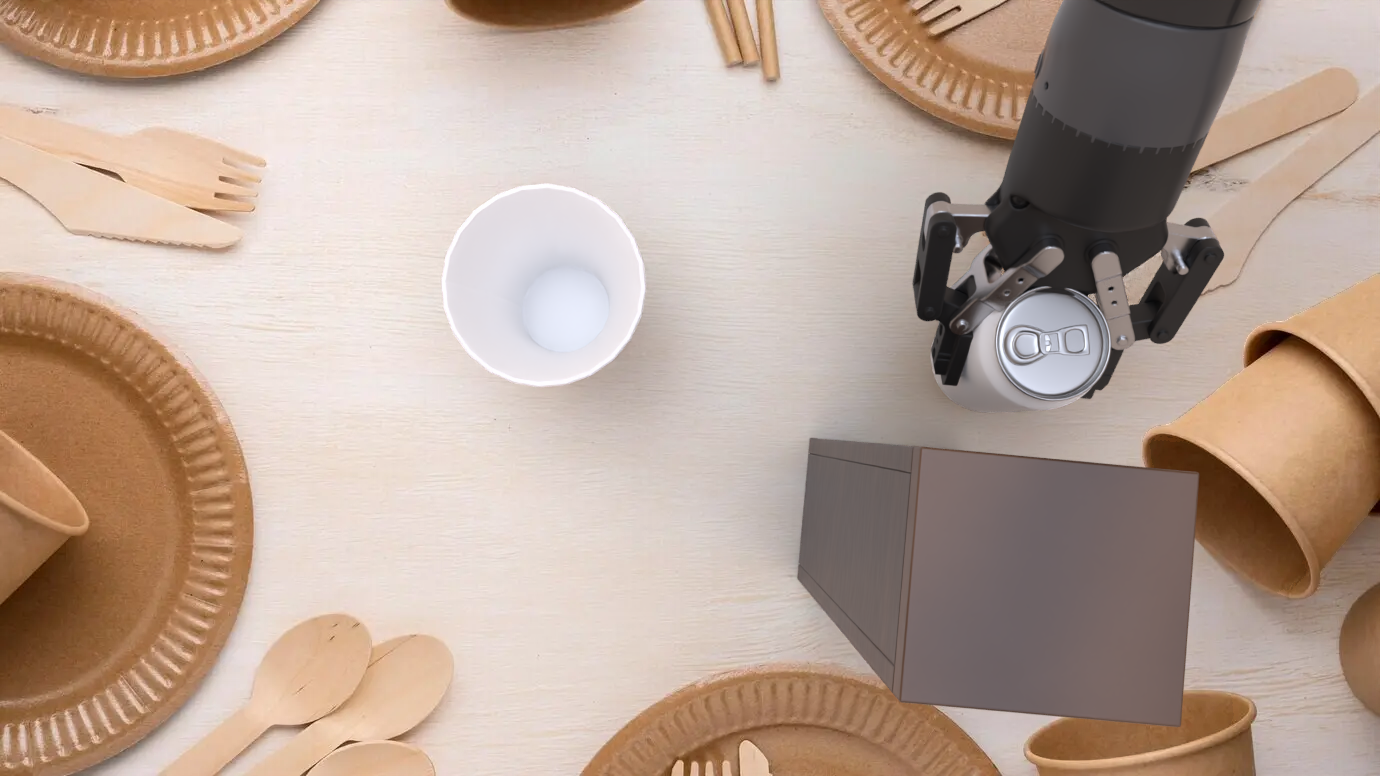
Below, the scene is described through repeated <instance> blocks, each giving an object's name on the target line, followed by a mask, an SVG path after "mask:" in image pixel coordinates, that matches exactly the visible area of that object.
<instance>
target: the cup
mask: <svg viewBox="0 0 1380 776" xmlns="http://www.w3.org/2000/svg"><path fill="white" fill-rule="evenodd" d="M645 269H646V268H645V260H644V258H643V256H642V253H641V250H640V248H639V246H638V242H637V239H636V237H635V235H634V234H633V232H632V231H631V230H630V228H629V227H628V226H627V225H626V223H625V222H624V220H623V218H622V217H621V216H620V215H619V214H618V213H617V212H616V211H614V210H613V209H612V208H611V207H610V206H609V205H607V204H606V203H605V202H604V201H602V200H601V199H600V198H599V197H596V196H594V195H591V194H589V193H587V192H585V191H583V190H581V189H578V188H576V187H573V186H568V185H562V184H556V183H550V182H544V183H543V182H542V183H533V184H521V185H517V186H516V187H513V188H510V189H508V190H505V191H502V192H499V193H497V194H495V195H493V196H491V197H490V198H489V199H488V200H486V201H485V202H484V203H482V204H480V205H479V206H478V207H476V208H474V209H473V211H472V212H471V213H470V214H469V215H468V216H467V218H466V219H465V220H464V221H463V223H462V224H461V225H460V226H459V227H458V228H457V230H456V231H455V233H454V235H453V238H452V240H451V242H450V244H449V246H448V248H447V251H446V252H445V255H444V262H443V266H442V272H441V277H440V288H441V289H440V290H441V299H442V300H441V301H442V309H443V311H444V314H445V317H446V320H447V322H448V325H449V327H450V330H451V333H452V335H453V336H454V337H455V339H456V340H457V341H458V343H459V344H460V346H461V347H462V349H463V350H464V352H465V353H466V355H468V357H470V358H471V359H472V360H473V361H475V362H476V363H477V364H478V365H479V366H481V367H482V368H483V369H485V370H486V371H487V372H488V373H490V374H492V375H494V376H497V377H499V378H501V379H503V380H505V381H506V382H507V381H508V382H510V383H512V384H516V385H523V386H529V387H534V388H549V387H560V386H567V385H571V384H573V383H575V382H579V381H581V380H584V379H587V378H589V377H592V376H593V375H595V374H596V373H598V372H599V371H600V370H602V369H603V368H604V367H605V368H606V366H607V365H609V364H610V363H612V362H614V360H616V358H617V357H618V356H619V355H620V354H621V352H622V351H623V349H625V347H626V346H627V345H628V344H629V342H631V340H632V338H633V336H634V334H635V331H636V329H637V327H638V325H639V323H640V321H641V319H642V316H643V314H644V313H643V312H644V306H645V301H646V295H647V289H648V288H647V280H646V279H647V278H646V270H645Z"/></svg>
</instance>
